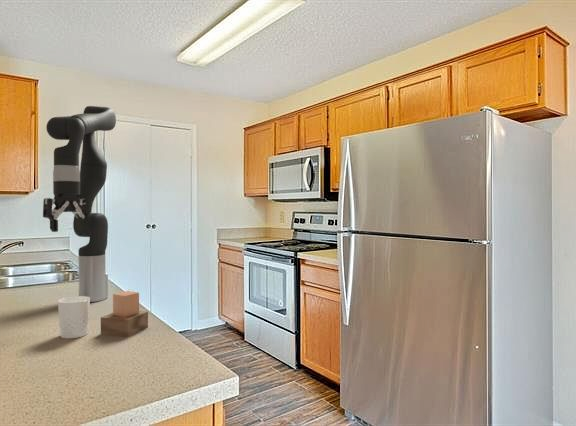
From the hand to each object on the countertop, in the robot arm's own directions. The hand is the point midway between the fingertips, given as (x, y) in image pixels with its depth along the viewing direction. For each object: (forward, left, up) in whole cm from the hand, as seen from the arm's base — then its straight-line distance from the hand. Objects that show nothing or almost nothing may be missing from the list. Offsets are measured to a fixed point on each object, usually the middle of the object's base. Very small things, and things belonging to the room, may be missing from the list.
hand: (67, 230), depth 127 cm
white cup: (+10, +17, -28) cm, 35 cm away
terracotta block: (+1, +27, -23) cm, 36 cm away
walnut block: (+1, +27, -28) cm, 39 cm away
